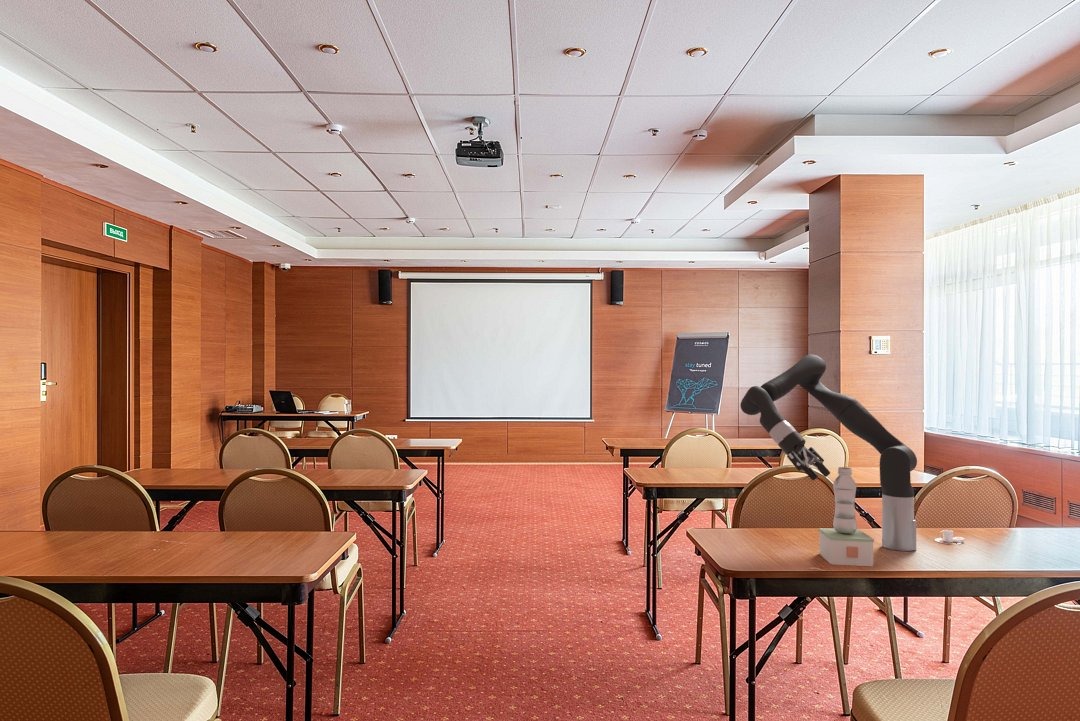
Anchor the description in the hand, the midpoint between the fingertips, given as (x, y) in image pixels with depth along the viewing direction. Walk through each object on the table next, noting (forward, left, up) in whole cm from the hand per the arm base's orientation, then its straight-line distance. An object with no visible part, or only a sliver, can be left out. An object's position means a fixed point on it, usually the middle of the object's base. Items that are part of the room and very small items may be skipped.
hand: (821, 476), depth 210 cm
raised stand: (-6, +4, -24) cm, 25 cm away
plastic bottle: (-6, +4, -17) cm, 18 cm away
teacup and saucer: (-50, -23, -25) cm, 60 cm away
